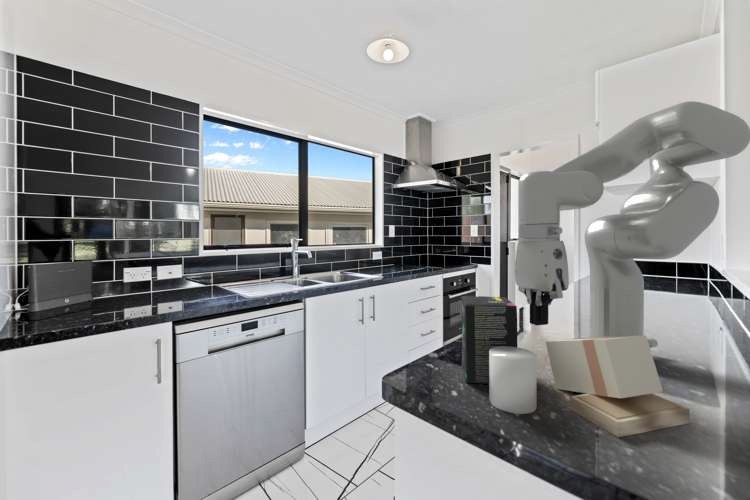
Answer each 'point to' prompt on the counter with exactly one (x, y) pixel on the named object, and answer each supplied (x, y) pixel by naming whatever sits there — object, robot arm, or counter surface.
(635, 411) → the podium
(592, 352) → the cream carton
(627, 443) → the counter surface
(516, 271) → the robot arm
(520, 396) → the white pillar candle
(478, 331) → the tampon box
